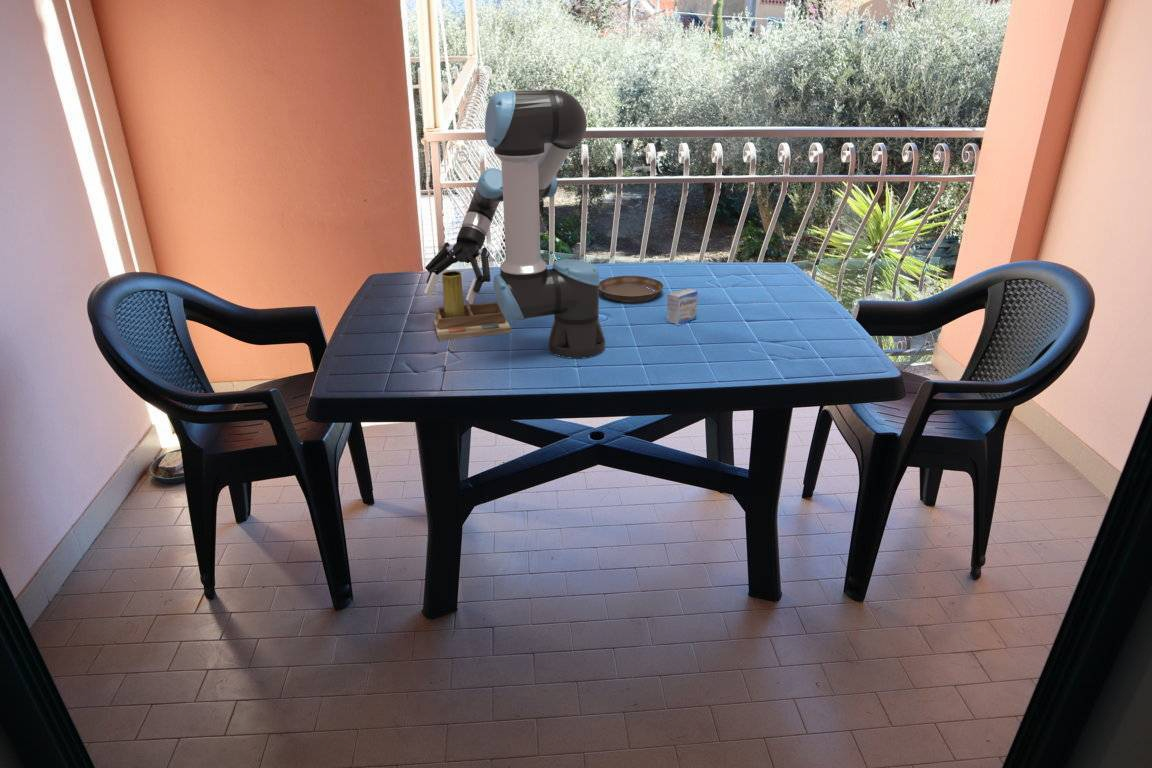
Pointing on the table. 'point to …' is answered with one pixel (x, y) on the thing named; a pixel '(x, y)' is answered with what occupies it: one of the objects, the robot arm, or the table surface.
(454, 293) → the vase
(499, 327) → the tray
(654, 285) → the plant saucer
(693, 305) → the medicine box
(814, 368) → the table surface
